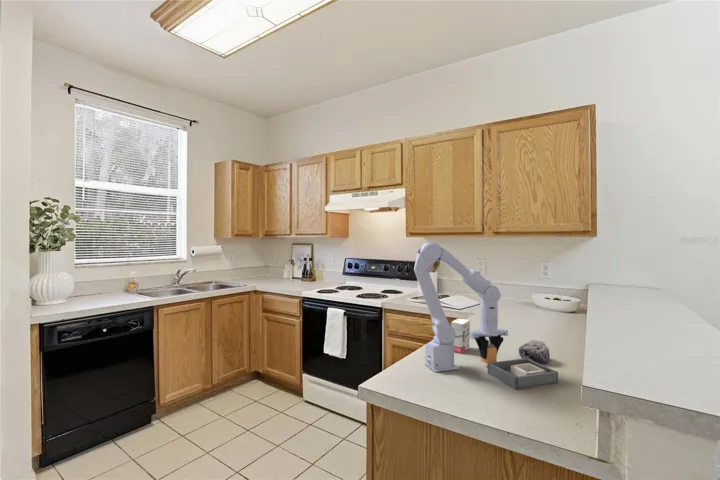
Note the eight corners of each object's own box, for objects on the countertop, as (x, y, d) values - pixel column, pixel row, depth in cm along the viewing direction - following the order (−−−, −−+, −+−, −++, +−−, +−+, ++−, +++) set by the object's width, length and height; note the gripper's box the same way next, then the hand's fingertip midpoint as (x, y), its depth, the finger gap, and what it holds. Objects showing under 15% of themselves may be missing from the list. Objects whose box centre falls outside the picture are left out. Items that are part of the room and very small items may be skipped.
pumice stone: (526, 371, 121) (555, 365, 119) (520, 350, 121) (549, 344, 120) (518, 360, 131) (545, 354, 130) (513, 341, 132) (539, 335, 130)
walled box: (515, 389, 101) (515, 378, 101) (487, 373, 113) (487, 362, 113) (558, 383, 106) (558, 372, 105) (526, 368, 118) (526, 358, 118)
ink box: (462, 354, 132) (462, 323, 132) (450, 351, 135) (450, 321, 135) (470, 348, 139) (470, 319, 139) (458, 346, 142) (458, 317, 142)
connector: (487, 364, 116) (488, 346, 116) (480, 360, 120) (480, 342, 120) (496, 363, 117) (496, 345, 117) (489, 359, 121) (489, 342, 121)
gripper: (478, 322, 113) (477, 363, 113) (514, 319, 117) (513, 359, 117) (465, 317, 120) (465, 356, 120) (500, 315, 124) (499, 352, 124)
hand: (488, 357), depth 119 cm, fingers closed on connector, 3 cm apart
